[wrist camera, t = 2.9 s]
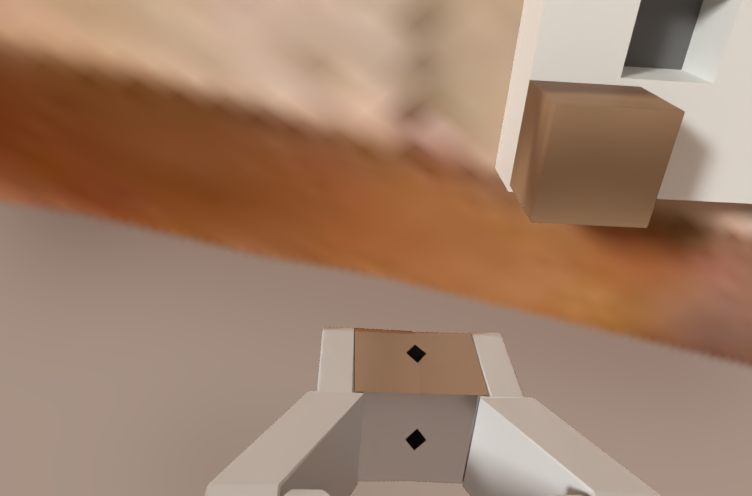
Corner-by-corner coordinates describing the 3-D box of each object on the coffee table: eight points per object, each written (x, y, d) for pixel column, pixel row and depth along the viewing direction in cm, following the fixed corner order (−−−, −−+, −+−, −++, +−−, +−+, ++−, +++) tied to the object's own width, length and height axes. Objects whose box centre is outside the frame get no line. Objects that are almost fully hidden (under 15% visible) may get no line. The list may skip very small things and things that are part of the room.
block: (529, 79, 20) (556, 104, 18) (640, 86, 21) (684, 111, 18) (509, 185, 22) (531, 222, 19) (611, 190, 22) (647, 227, 20)
